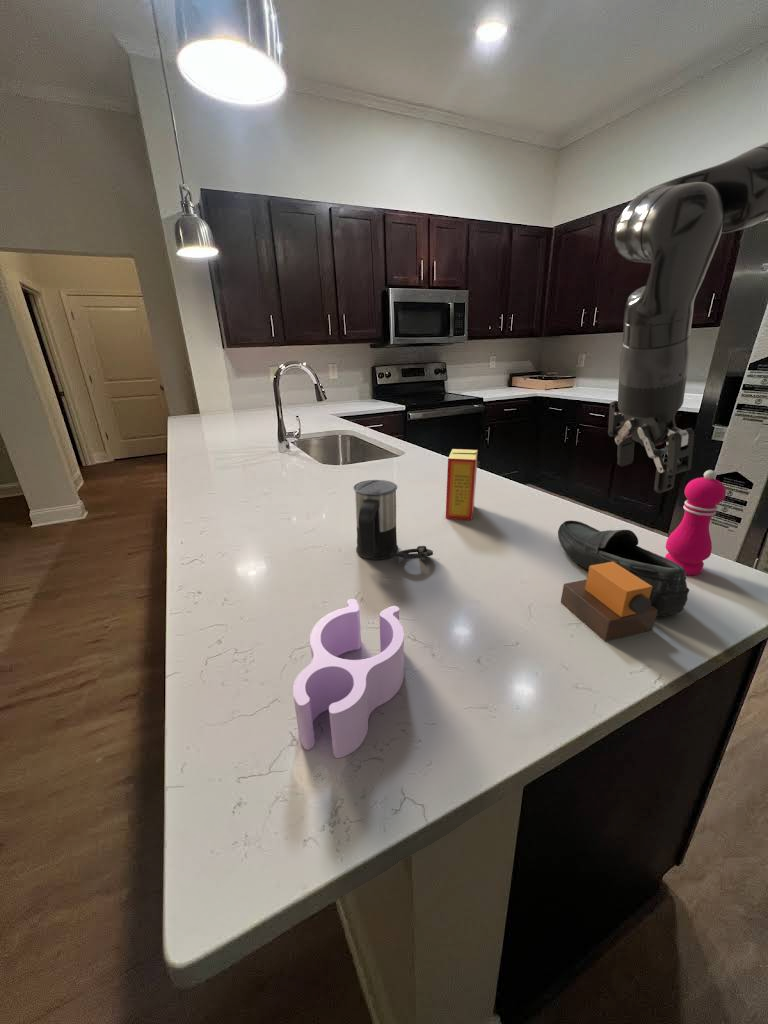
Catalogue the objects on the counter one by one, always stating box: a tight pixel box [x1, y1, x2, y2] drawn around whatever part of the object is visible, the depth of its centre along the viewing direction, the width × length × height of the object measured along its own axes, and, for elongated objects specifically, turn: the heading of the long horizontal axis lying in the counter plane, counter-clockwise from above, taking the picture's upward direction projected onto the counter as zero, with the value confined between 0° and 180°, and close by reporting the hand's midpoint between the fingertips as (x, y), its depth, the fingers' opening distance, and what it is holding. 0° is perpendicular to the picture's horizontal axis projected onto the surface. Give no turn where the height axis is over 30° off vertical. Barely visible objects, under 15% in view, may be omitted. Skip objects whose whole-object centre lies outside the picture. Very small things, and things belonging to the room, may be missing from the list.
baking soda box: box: [445, 448, 479, 521], centre depth 107 cm, size 10×6×16 cm
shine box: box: [560, 579, 658, 642], centre depth 68 cm, size 10×9×4 cm
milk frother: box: [353, 479, 434, 560], centre depth 87 cm, size 14×16×15 cm
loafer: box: [557, 520, 690, 617], centre depth 78 cm, size 10×29×10 cm, turn 18°
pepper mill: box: [664, 469, 727, 576], centre depth 79 cm, size 7×7×20 cm
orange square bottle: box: [585, 562, 652, 617], centre depth 65 cm, size 9×5×5 cm, turn 16°
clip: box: [292, 598, 405, 759], centre depth 55 cm, size 20×12×7 cm, turn 163°
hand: (642, 476), depth 63 cm, fingers open, 8 cm apart
